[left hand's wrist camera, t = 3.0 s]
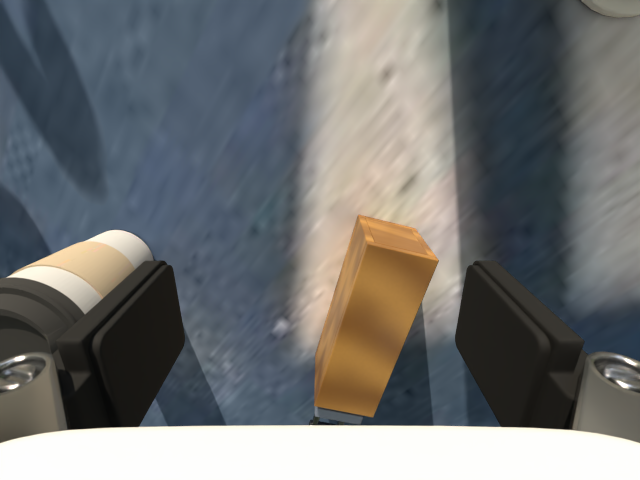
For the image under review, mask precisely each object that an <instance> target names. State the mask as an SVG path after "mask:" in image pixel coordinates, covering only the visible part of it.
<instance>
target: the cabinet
mask: <svg viewBox="0 0 640 480" xmlns="http://www.w3.org/2000/svg"><path fill="white" fill-rule="evenodd" d="M438 261H439V260H438V259H437V258H436V256H435V255H434V253H433V252H432V251H431V249H430V248H429V247H428V245H427V244H426V242H425V241H424V240H423V238H422V237H421V236H420V234H419V233H418V232H417V230H416V229H415V228H411V227H407V226H403V225H399V224H395V223H390V222H386V221H382V220H378V219H374V218H370V217H366V216H362V215H358V217H357V220H356V224H355V227H354V230H353V233H352V237H351V240H350V243H349V246H348V250H347V253H346V256H345V259H344V263H343V266H342V269H341V273H340V276H339V279H338V282H337V286H336V289H335V292H334V295H333V299H332V302H331V305H330V308H329V312H328V315H327V318H326V321H325V325H324V328H323V331H322V334H321V338H320V341H319V344H318V347H317V351H316V355H315V357H316V358H315V401H314V406H316V407H321V408H327V409H332V410H337V411H342V412H347V413H353V414H358V415H363V416H368V417H373V416H374V414H375V411H376V409H377V407H378V404H379V402H380V400H381V397H382V395H383V392H384V390H385V388H386V385H387V383H388V381H389V378H390V376H391V373H392V371H393V369H394V366H395V364H396V361H397V359H398V357H399V354H400V352H401V350H402V347H403V345H404V342H405V340H406V338H407V335H408V333H409V331H410V328H411V326H412V323H413V321H414V319H415V316H416V314H417V311H418V309H419V307H420V304H421V302H422V300H423V297H424V295H425V292H426V290H427V288H428V285H429V283H430V281H431V278H432V276H433V273H434V271H435V269H436V266H437V264H438Z"/></svg>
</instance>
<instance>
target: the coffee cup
mask: <svg viewBox="0 0 640 480" xmlns="http://www.w3.org/2000/svg"><path fill="white" fill-rule="evenodd" d="M144 261H154V259H153V256H152V253H151V251H150V249H149V248H148V246H147V245H146V244H145V243H144V242H143V241H142V240H141V239H140V238H138V237H137V236H135V235H133V234H131V233H129V232H126V231H121V230H111V231H107V232H104V233H102V234H100V235H97V236H95V237H93V238H91V239H89V240H87V241H84V242H80V243H77V244H74V245H72V246H70V247H68V248H65V249H63V250H61V251H59V252H56V253H54V254H52V255H50V256H48V257H45V258H43V259H41V260H39V261H36V262H34V263H32V264H30V265H28V266H25V267H23V268H21V269H19V270H17V271H15V272H14V273H13V274H11V275H10V276H9V277H6V278H0V362H1V361H3V360H6V359H8V358H11V357H13V356H17V355H20V354H24V353H30V352H46V353H48V354H51V355H52V354H53V353H54V352H56V351H57V350H58V347H57V344H56V340H57V339H58V338H59V337H61V336H62V335H63V334H64V333H65V332H66V331H67V330H68V329H69V328H71V327H72V326H73V325H74V324H75V323H76V322H77V321H78V320H79V319H81V318H82V317H83V316H84V315H85V314H86V313H87V312H88V311H89V310H91V309H92V308H93V307H94V306H95V305H96V304H97V303H98V302H99V301H101V300H102V299H103V298H104V297H105V296H106V295H107V294H108V293H109V292H111V291H112V290H113V289H114V288H115V287H116V286H117V285H118V284H119V283H121V282H122V281H123V280H124V279H125V278H126V277H127V276H128V275H129V274H131V273H132V272H133V271H134V270H135V269H136V268H137V267H138V266H139V265H141V264H142V263H143V262H144Z"/></svg>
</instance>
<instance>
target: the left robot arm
mask: <svg viewBox="0 0 640 480" xmlns="http://www.w3.org/2000/svg"><path fill="white" fill-rule="evenodd" d="M581 1H582V2H583V3H584V4H585V5H587V6H588V7H589V8H590V9H591V10H594V11H596V12H598V13H600V14H602V15H606V16H611V17H616V18H621V17H634V16H638V15H640V0H581ZM184 342H185V335H184V329H183V323H182V317H181V312H180V306H179V300H178V295H177V289H176V283H175V277H174V272H173V268H172V266H171V265H167V263H166V262H165V261H144V262H143V263H142V264H141V265H139V266H138V267H137V268H136V269H135V270H134V271H133V272H132V273H131V274H129V275H128V276H127V277H126V278H125V279H124V280H123V281H122V282H121V283H119V284H118V285H117V286H116V287H115V288H114V289H113V290H112V291H111V292H109V293H108V294H107V295H106V296H105V297H104V298H103V299H102V300H101V301H99V302H98V303H97V304H96V305H95V306H94V307H93V308H92V309H91V310H89V311H88V312H87V313H86V314H85V315H84V316H83V317H82V318H81V319H79V320H78V321H77V322H76V323H75V324H74V325H73V326H72V327H71V328H69V329H68V330H67V331H66V332H65V333H64V334H63V335H62V336H61V337H59V338H58V339H57V340H56V344H57V347H58V350H57V351H56V352H54V353H53V354H52V355H51V354H48V353H46V352H30V353H24V354H20V355H17V356H13V357H11V358H8V359H6V360H3V361H1V362H0V480H640V362H639V361H637V360H634V359H632V358H629V357H627V356H623V355H620V354H616V353H610V352H594V353H592V354H589V355H588V354H587V353H586V352H584V351H583V350H582V347H583V344H584V340H583V339H582V338H581V337H579V336H578V335H577V334H576V333H575V332H574V331H573V330H572V329H571V328H569V327H568V326H567V325H566V324H565V323H564V322H563V321H562V320H561V319H559V318H558V317H557V316H556V315H555V314H554V313H553V312H552V311H551V310H549V309H548V308H547V307H546V306H545V305H544V304H543V303H542V302H541V301H539V300H538V299H537V298H536V297H535V296H534V295H533V294H532V293H531V292H529V291H528V290H527V289H526V288H525V287H524V286H523V285H522V284H521V283H519V282H518V281H517V280H516V279H515V278H514V277H513V276H512V275H511V274H509V273H508V272H507V271H506V270H505V269H504V268H503V267H502V266H501V265H499V264H498V263H497V262H496V261H475V262H474V263H473V265H469V266H468V268H467V272H466V277H465V283H464V289H463V295H462V300H461V306H460V312H459V317H458V323H457V329H456V335H455V342H456V346H457V348H458V350H459V352H460V354H461V356H462V357H463V359H464V361H465V363H466V365H467V366H468V368H469V370H470V372H471V374H472V375H473V377H474V379H475V381H476V382H477V384H478V386H479V388H480V390H481V391H482V393H483V395H484V397H485V399H486V400H487V402H488V404H489V406H490V407H491V409H492V411H493V413H494V415H495V416H496V418H497V420H498V422H499V424H500V425H501V427H467V426H338V425H302V426H173V427H139V425H140V424H141V422H142V420H143V418H144V416H145V415H146V413H147V411H148V409H149V407H150V406H151V404H152V402H153V400H154V399H155V397H156V395H157V393H158V391H159V390H160V388H161V386H162V384H163V382H164V381H165V379H166V377H167V375H168V374H169V372H170V370H171V368H172V366H173V365H174V363H175V361H176V359H177V357H178V356H179V354H180V352H181V350H182V348H183V346H184Z"/></svg>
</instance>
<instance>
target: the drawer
mask: <svg viewBox="0 0 640 480" xmlns="http://www.w3.org/2000/svg"><path fill="white" fill-rule="evenodd" d="M320 417H321V418H326V419H331V420H337V421H338V423H337V425H338V426H343V425H344V422H347V423H353V424H358V425H360V424H361V421H362V419H363V415H358V414H353V413H347V412H342V411H337V410H332V409H327V408H321V407H316V406H315V414H314V417H313V420H310V422H309V425H336V424H331V423H326V422H320V421H319V418H320Z"/></svg>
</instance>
